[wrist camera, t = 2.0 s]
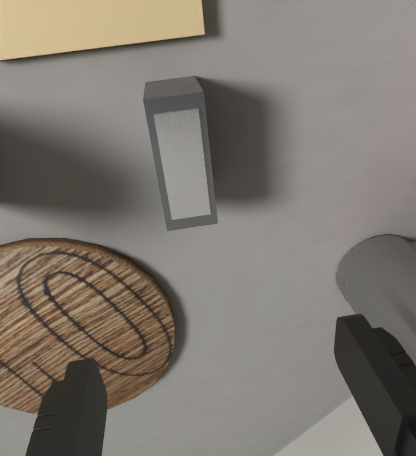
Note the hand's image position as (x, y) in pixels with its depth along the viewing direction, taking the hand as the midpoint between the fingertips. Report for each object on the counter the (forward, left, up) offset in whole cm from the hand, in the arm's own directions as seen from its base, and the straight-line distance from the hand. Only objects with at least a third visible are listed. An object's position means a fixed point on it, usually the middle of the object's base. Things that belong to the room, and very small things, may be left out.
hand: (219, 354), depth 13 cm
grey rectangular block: (0, 0, -24) cm, 24 cm away
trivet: (+16, +20, -25) cm, 36 cm away
